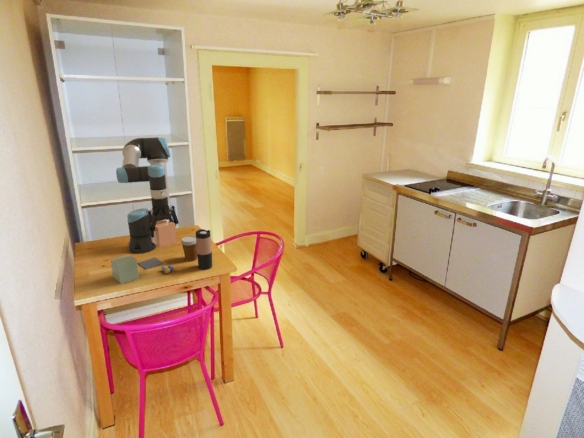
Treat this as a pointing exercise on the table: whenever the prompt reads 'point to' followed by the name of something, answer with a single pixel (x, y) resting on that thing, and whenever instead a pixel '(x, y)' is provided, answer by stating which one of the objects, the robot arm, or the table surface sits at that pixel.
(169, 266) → the marble blue
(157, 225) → the dusty pink cube
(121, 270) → the rounded sage cube
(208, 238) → the travel mug
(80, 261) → the table surface
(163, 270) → the marble grey
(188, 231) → the table surface
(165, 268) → the marble amber
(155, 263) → the coaster
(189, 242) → the disposable coffee cup
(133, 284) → the table surface
